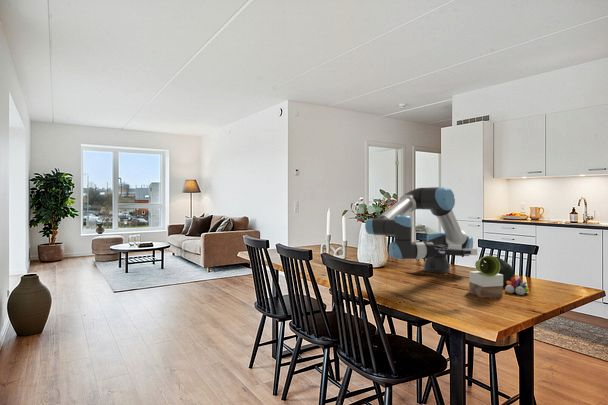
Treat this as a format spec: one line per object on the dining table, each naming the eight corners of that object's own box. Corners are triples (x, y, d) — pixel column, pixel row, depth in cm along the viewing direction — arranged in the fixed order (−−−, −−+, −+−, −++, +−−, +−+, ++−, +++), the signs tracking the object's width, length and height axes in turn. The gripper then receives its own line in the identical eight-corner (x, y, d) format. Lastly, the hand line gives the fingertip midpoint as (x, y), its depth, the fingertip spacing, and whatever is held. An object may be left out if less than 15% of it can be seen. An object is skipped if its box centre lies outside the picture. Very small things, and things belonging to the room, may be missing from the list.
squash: (515, 271, 202) (494, 249, 204) (523, 278, 187) (501, 254, 189) (493, 287, 205) (473, 266, 207) (499, 295, 191) (477, 272, 193)
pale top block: (469, 281, 180) (469, 271, 180) (488, 281, 181) (488, 270, 181) (483, 286, 170) (483, 275, 170) (503, 285, 172) (503, 274, 172)
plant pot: (484, 279, 177) (492, 281, 169) (467, 267, 178) (474, 268, 170) (495, 263, 178) (504, 264, 169) (478, 251, 179) (486, 251, 171)
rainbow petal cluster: (508, 289, 184) (508, 274, 184) (531, 293, 178) (531, 277, 177) (502, 293, 179) (502, 277, 178) (525, 296, 172) (525, 280, 172)
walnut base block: (469, 292, 180) (469, 281, 180) (489, 291, 181) (489, 281, 181) (481, 298, 170) (481, 287, 170) (502, 297, 171) (502, 286, 171)
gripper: (413, 254, 184) (455, 253, 186) (435, 263, 159) (483, 262, 161) (413, 238, 184) (455, 238, 186) (435, 245, 159) (484, 244, 161)
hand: (468, 249), depth 174 cm, fingers open, 13 cm apart
